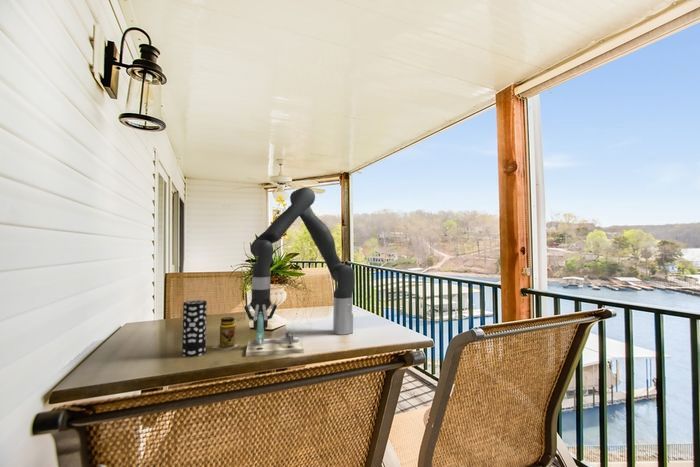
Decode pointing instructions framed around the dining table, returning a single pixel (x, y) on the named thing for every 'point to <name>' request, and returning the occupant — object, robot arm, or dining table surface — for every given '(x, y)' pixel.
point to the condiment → (227, 334)
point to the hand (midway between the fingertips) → (260, 328)
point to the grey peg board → (275, 346)
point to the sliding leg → (260, 327)
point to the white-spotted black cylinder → (194, 328)
